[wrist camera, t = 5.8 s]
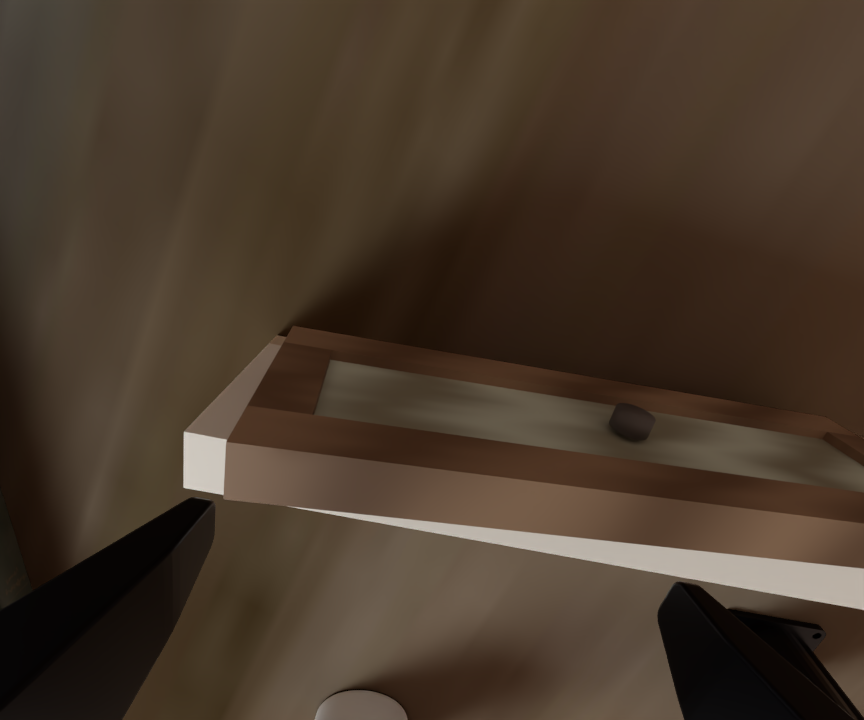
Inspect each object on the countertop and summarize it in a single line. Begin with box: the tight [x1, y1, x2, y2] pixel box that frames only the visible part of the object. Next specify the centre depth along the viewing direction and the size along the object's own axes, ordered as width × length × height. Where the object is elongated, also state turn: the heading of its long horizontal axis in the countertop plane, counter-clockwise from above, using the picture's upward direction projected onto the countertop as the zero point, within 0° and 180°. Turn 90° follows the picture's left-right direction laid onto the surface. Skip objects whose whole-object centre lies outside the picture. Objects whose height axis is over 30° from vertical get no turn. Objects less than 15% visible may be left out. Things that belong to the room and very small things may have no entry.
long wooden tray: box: [184, 335, 864, 610], centre depth 19 cm, size 26×6×8 cm, turn 78°
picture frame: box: [223, 326, 864, 569], centre depth 14 cm, size 22×2×7 cm, turn 78°
